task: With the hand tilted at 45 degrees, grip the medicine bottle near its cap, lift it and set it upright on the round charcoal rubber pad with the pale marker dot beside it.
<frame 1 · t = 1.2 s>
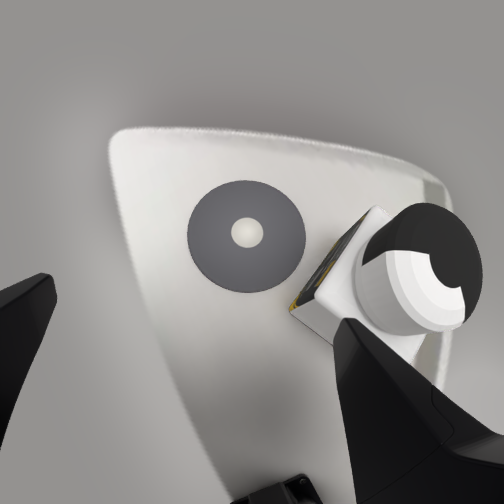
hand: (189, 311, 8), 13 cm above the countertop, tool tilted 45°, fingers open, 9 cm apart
layout pad: (247, 233, 23), on the countertop
medicine bottle: (348, 302, 23), on the countertop
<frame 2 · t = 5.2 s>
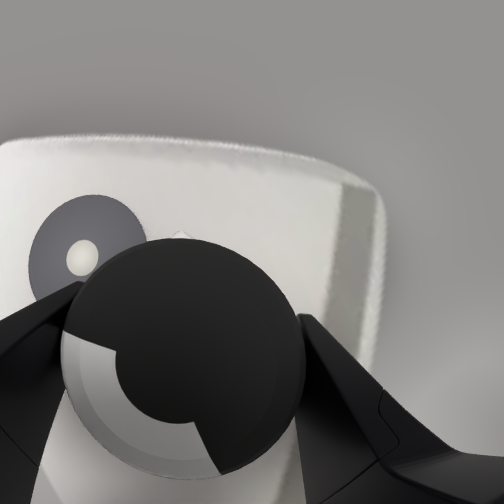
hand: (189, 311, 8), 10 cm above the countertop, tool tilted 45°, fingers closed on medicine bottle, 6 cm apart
layout pad: (83, 259, 18), on the countertop
medicine bottle: (198, 350, 17), on the countertop, touching gripper
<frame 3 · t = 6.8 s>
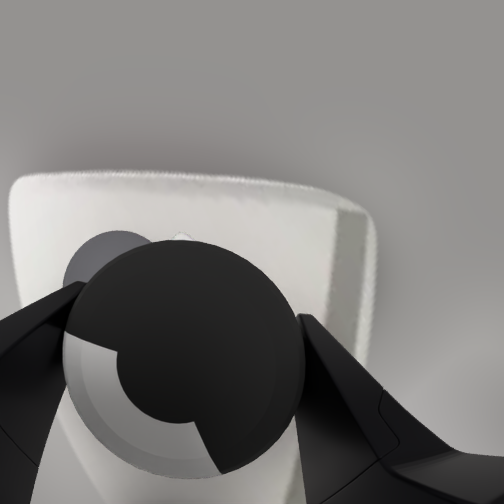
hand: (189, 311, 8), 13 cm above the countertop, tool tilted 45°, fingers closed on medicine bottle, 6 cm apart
layout pad: (114, 289, 21), on the countertop
medicine bottle: (199, 351, 17), point 3 cm above the countertop, touching gripper
when the fingers open (11 cm above the countertop, at t = 8.4 s): medicine bottle stays where it is, resting on layout pad.
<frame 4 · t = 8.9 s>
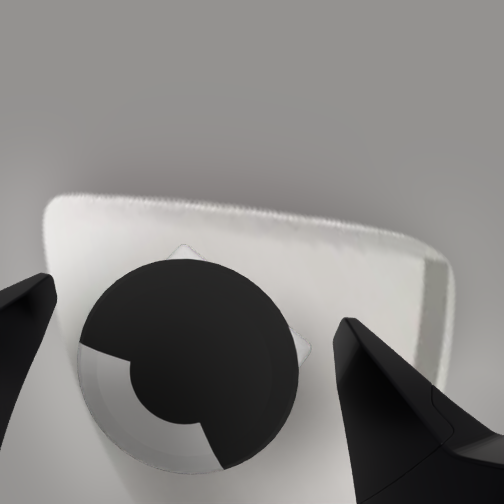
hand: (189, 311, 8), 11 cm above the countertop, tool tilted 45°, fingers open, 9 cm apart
medicine bottle: (199, 354, 18), resting on layout pad
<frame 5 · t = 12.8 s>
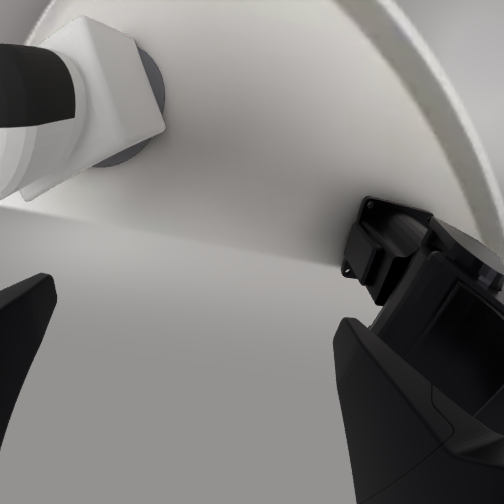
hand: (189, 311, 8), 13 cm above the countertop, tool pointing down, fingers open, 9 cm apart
layout pad: (102, 103, 17), on the countertop
medicine bottle: (105, 104, 17), resting on layout pad
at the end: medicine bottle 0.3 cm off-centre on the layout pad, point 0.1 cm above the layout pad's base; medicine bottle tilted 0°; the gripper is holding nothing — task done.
